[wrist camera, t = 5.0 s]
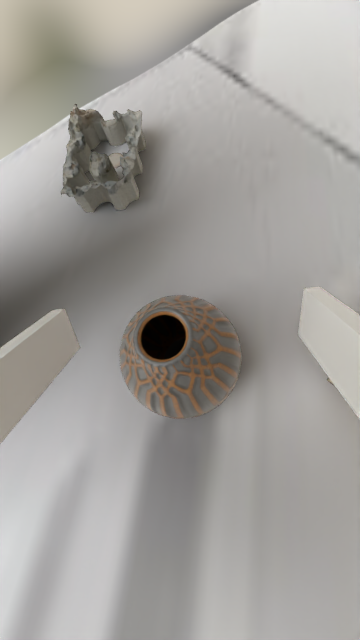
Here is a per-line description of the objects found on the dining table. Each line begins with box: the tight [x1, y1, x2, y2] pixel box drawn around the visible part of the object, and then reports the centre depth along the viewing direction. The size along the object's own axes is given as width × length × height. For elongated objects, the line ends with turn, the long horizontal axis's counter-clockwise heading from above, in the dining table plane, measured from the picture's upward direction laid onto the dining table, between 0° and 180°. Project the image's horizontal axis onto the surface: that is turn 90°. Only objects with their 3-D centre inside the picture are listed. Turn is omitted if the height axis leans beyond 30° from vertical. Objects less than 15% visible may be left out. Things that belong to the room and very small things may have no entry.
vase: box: [120, 295, 242, 419], centre depth 13 cm, size 7×7×9 cm
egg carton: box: [61, 104, 146, 213], centre depth 22 cm, size 11×8×4 cm
